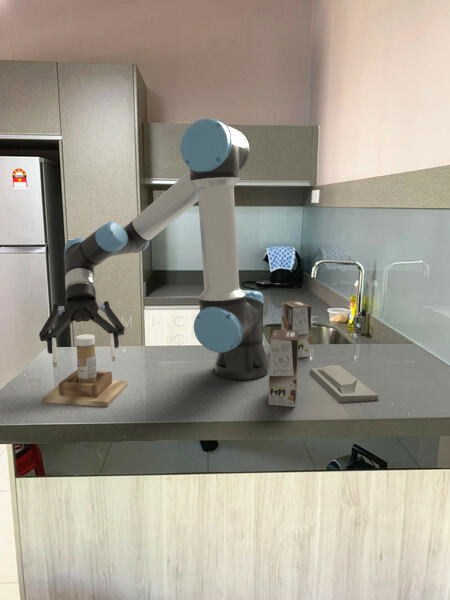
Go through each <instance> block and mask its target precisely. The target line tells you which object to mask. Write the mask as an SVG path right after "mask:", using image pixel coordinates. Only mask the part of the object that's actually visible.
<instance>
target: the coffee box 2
mask: <svg viewBox="0 0 450 600" xmlns="http://www.w3.org/2000/svg"><path fill="white" fill-rule="evenodd" d="M269 340H270V341H269V342H270V344H269V369H268V373H269V376H268V378H269V379H268V405H270V406H278V407H279V406H280V407H289V408H294V407H295V406H296V400H297V394H298V373H299V372H298V371H299V358H298V348H299V331H296V330H281V329H273V330H272V334H271V336H270V339H269Z"/></svg>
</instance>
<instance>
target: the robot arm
mask: <svg viewBox="0 0 450 600" xmlns="http://www.w3.org/2000/svg"><path fill="white" fill-rule="evenodd" d="M179 148H180V155H181V158H182V160H183V162H184V163H185V165H186V167H187V168H189V171H187V172H186V173H185V174H184V175H182V177H181V178H179V179H178V180H176V182H175V183H174V184H173V185H171V186H170V187H168V189H167V190H166V191H164V192H163V193H162V194H161V195H160V196H159V197H157V198H156V199H155V200H154V201H153V202H152V203H151V204H149V205H148V206H147V207H146V208H145V209H144V210H142V211H141V212H140V213H139V214H138V215H136V216H135V217H134V218H133V219H132V220H131V221H130V222H129V223H127V224H126V225H125V226H124V227H123V226H122V225H121V224H119V223H116V222H115V221H109V222H107V223H105V224H103V225H101V226H99V227H98V228H97V229H96V230H95V231H94V232H92V233H91V234H90V235H88V236H87V237H86V238H83V237H81V238H80V237H77V238H73V239H70V240H68V241H67V242H66V243H65V246H64V253H63V260H64V276H65V277H64V279H65V281H64V283H65V284H64V285H65V305H59V304H57V303H54V304H53V306H52V311H51V313H50V315H49V317H48V318H47V320H45V321H46V322H45V323H44V325H43V327H42V329H41V330H40V332H39V334H38V335H39V340H40V341H41V342H46V344H47V345H46V347H47V353H48V354H49V355H50V354H52V357H51V358H52V366H53V368H57V367H58V361H57V360H58V358H57V356H58V355H57V338H58V337H59V336H60V335H61V334H62V333H63V332H64V330H65V329H66V328H67V327H68V326H70V325H72V323H74V322H76V323H80V322H89V321H92V322H93V323H95V324H97V325H98V326H99V327H100V328H102V329H103V330H104V331H105V332H107V333H108V334H109V341H110V353H111V362H115V361H116V350H115V349H118V348H119V347H120V346H119V345H120V342H119V336H124V335H125V330H126V329H125V327H124V325H123V323H122V322H121V320H120V319H119V318H118V317H117V315H116V314H115V312H114V311H113V310H112V309H111V307H110V303H109V301H108V300H105V301H104V302H103V303H98V302H97V295H96V280H95V279H96V278H95V271H94V270H95V268H96V267H97V266H98V265H100V264H102V262H105V261H106V260H107V259H108V258H111V257H113V256H119V255H121V256H122V255H127V254H135V253H139V252H143V251H145V250H146V249H147V248H148V247H149V245H150V241H151V240H152V239H153V238H154V237H156V236H157V235H158V234H160V233H161V232H162V231H164V229H165V228H167V227H168V226H169V225H171V224H172V223H173V222H174V221H176V219H178V218H179V217H180V216H181V215H183V214H184V213H185V212H186V211H188V210H189V209H190V208H191V207H193V205H195V204H196V203H198V215H199V216H198V217H199V229H200V230H199V231H200V242H201V244H200V245H201V258H202V259H201V261H202V271H203V272H202V273H203V288H204V289H203V291H202V292H201V293H200V295H199V296H198V301H199V302H198V303H199V304H198V305H199V312H198V313H197V315H196V317H195V319H194V322H193V331H194V336H195V337H196V340H197V341H198V342H199V344H200V345H202V346H203V347H204V349H206V350H208V351H210V352H213V353H217V355H216V358H215V362H214V371H215V373H216V374H217V375H218V376H220V377H222V378H226V379H230V380H239V381H240V380H255V379H259V378H263V377H265V376H266V375H267V374H268V373H269V361H268V358H267V355H266V352H265V348H264V344H263V342H264V341H263V338H264V337H263V335H264V305H265V302H264V295H263V293H262V292H261V291H258V290H249V289H247V290H246V289H241V287H240V277H239V276H240V274H239V259H238V258H239V257H238V241H237V238H238V237H237V222H236V206H235V204H236V203H235V186H236V185H237V184H238V183H239V181H240V180H241V179H240V177H241V175H240V174H241V171H242V170H243V169H244V168H245V166H246V165H247V163H248V161H249V157H250V145H249V142H248V140H247V137H246V136H245V135H244V134H243V132H241V131H240V130H239V129H237V128H235V127H232V126H230V125H228V124H227V123H225V122H224V121H222V120H220V119H213V118H208V117H207V118H202V119H198V120H196V121H194V122H193V123H191V124H190V125H189V126H188V127H187V128H186V130H185V131H184V133H183V135H182V137H181V140H180V147H179ZM99 310H101V311H102V313H104V314H105V316H106V317H107V318H108V320H109V321H110V322H109V321H107V320H106V319H105V318H103V316H102V315H100V313H99V312H98V311H99ZM63 312H64V313H65V315H64V317H63V318H62V319H61V320H60V321H59V322H58V323H57V325H55V323H56V321H57V320H58V318H59V316H61V315H62V313H63ZM54 325H55V326H54Z"/></svg>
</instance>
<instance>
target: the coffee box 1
mask: <svg viewBox="0 0 450 600" xmlns="http://www.w3.org/2000/svg"><path fill="white" fill-rule="evenodd" d="M311 314H312V306H311V305H309V304H307V303H304V302H302V301H300V300H293V301H292V300H291V301H290V300H289V301H282V302H281V324H280V325H281V326H280V327H281V328H280V330H296V331H299V348H298V359H300V358H309V357H310V349H311V348H310V347H311V346H310V344H311V323H312V322H311V320H312V319H311V318H312V317H311V316H312V315H311Z"/></svg>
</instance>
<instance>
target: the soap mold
mask: <svg viewBox="0 0 450 600" xmlns="http://www.w3.org/2000/svg"><path fill="white" fill-rule="evenodd" d="M309 376H311V377H312V378H313V379H314V380H315V381H316V382H317V384H319V385H320V386H321V387H322V388H323V389H324V390H325V391H326V392H328V393H329V395H330V396H331V397H333V399H335V401H336V402H338V403H339V404H340V403H353V402H355V403H356V402H365V401H379V394H377V393H376V392H374V391H373V390H372V389H371V388H369V387H368V386H367V385H366V384H365V383H363V382H362V381H360V380H359V379H358V378H356V377H355V376H354V375H352V374H351V373H350V372H349V371H348V370H347V369H345V368H344V367H342V366H341V365H336V364H334V365H332V364H328V365H326V366H323V367H311V368H310V369H309Z"/></svg>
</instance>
